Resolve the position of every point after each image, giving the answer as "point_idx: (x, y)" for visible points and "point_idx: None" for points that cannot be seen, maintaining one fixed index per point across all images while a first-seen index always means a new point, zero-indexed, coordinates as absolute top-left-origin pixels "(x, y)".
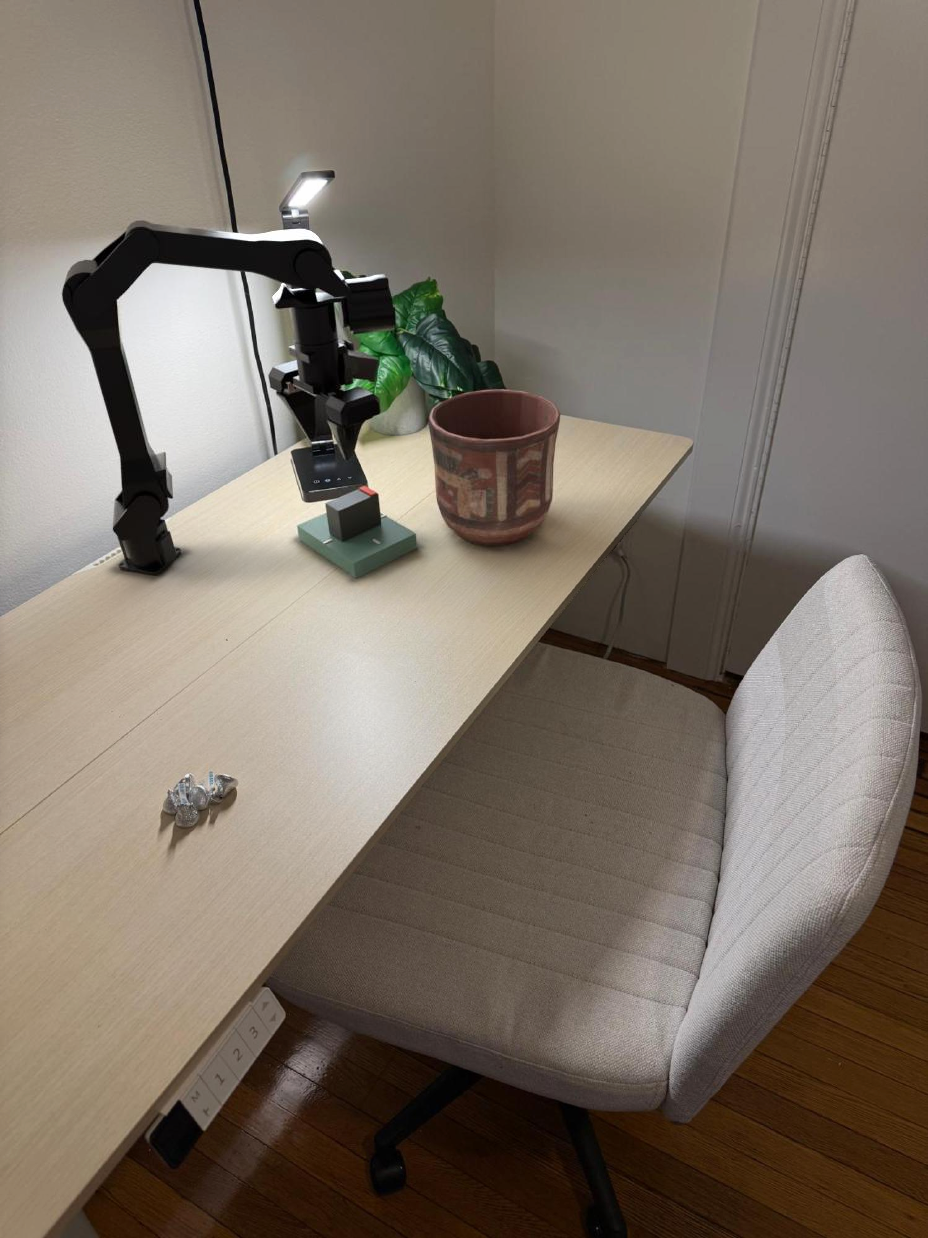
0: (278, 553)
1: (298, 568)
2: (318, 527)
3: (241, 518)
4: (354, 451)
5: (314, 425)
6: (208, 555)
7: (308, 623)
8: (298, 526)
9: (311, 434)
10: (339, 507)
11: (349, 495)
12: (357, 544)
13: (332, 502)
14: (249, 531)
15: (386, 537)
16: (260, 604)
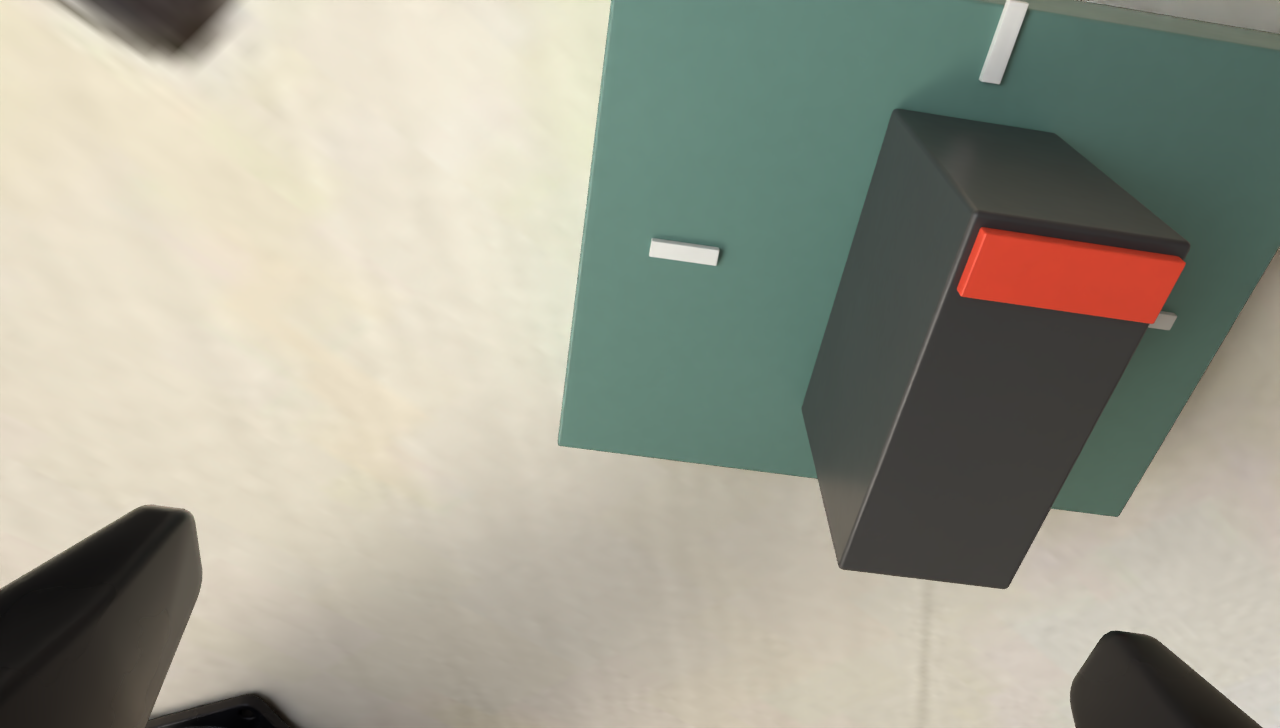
0: (584, 509)
1: (764, 533)
2: (685, 394)
3: (127, 417)
4: (1256, 723)
5: (65, 668)
6: (356, 654)
7: (1060, 706)
8: (574, 446)
9: (160, 613)
10: (983, 557)
11: (944, 410)
12: None
13: (883, 538)
14: (290, 468)
15: None
16: (815, 722)
